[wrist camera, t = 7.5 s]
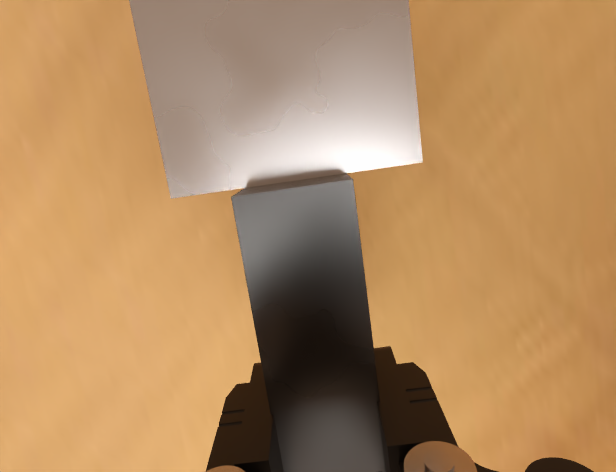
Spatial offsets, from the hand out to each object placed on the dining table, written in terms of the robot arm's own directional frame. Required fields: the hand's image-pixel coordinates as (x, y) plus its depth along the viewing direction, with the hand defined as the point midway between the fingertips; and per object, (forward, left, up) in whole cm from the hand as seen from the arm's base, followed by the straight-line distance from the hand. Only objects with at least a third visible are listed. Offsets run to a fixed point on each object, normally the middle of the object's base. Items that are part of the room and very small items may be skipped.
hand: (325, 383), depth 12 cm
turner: (0, -3, -1) cm, 3 cm away
